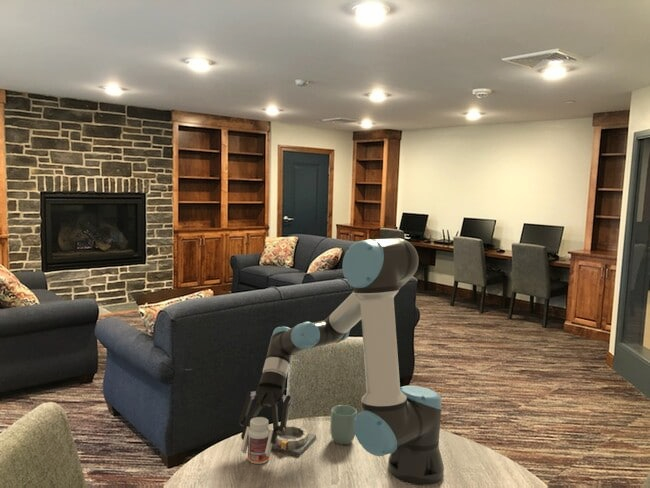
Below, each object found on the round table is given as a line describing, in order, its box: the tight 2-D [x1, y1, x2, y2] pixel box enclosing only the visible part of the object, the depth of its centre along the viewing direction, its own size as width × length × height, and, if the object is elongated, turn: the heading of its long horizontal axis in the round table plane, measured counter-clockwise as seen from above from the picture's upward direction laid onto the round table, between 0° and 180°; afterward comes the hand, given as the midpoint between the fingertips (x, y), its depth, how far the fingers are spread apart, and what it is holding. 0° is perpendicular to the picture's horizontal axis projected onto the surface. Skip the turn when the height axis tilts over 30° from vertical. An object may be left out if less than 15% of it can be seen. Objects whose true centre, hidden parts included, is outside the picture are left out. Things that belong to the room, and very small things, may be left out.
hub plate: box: [271, 424, 317, 457], centre depth 162 cm, size 12×12×3 cm
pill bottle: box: [247, 416, 271, 465], centre depth 152 cm, size 6×6×11 cm
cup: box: [330, 404, 358, 446], centre depth 164 cm, size 8×8×10 cm
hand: (255, 453), depth 149 cm, fingers closed on pill bottle, 6 cm apart
